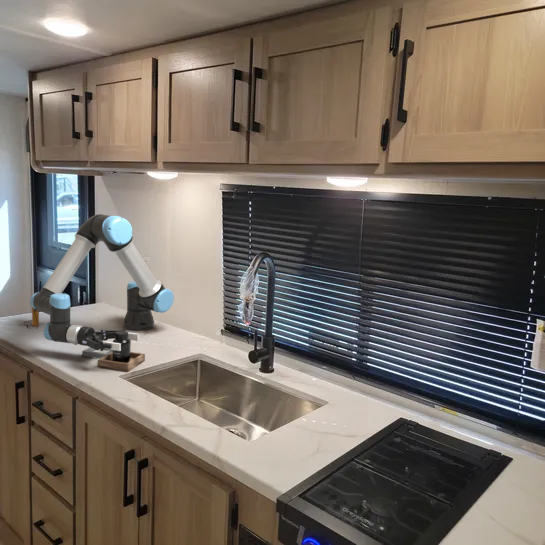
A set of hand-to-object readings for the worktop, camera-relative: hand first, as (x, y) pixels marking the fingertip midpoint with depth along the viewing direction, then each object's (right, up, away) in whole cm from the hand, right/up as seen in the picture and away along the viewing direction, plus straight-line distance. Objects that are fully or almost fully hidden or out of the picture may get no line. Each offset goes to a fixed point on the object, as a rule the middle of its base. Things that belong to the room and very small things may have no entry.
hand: (129, 342), depth 192 cm
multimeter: (-63, +2, +46) cm, 78 cm away
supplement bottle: (-4, -8, +2) cm, 9 cm away
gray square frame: (-15, -7, +13) cm, 21 cm away
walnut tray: (-4, -9, +2) cm, 10 cm away
